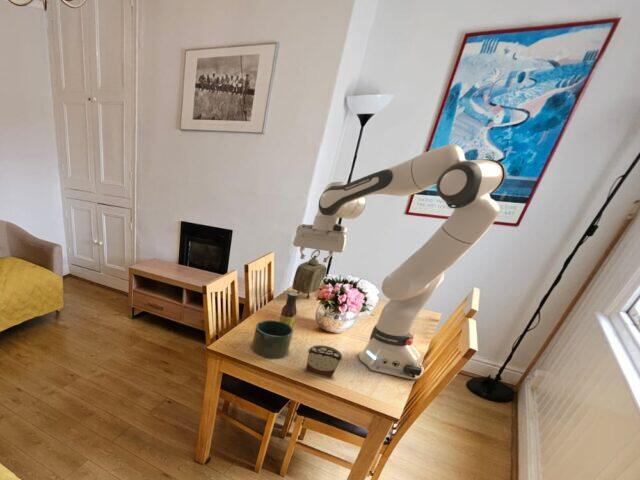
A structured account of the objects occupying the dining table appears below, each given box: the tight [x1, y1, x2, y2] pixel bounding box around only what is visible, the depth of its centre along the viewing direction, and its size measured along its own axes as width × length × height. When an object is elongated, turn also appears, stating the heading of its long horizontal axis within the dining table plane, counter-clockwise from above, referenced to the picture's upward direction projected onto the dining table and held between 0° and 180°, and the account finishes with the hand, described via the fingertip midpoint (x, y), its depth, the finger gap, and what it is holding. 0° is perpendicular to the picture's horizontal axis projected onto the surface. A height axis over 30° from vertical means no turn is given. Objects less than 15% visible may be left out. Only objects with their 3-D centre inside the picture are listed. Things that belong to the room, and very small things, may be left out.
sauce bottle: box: [279, 292, 299, 330], centre depth 170 cm, size 6×6×20 cm
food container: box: [304, 344, 343, 380], centre depth 150 cm, size 12×6×10 cm, turn 59°
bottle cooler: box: [251, 319, 294, 359], centre depth 164 cm, size 15×15×10 cm
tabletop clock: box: [292, 249, 327, 299], centre depth 204 cm, size 14×9×25 cm, turn 126°
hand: (313, 260), depth 167 cm, fingers open, 8 cm apart
